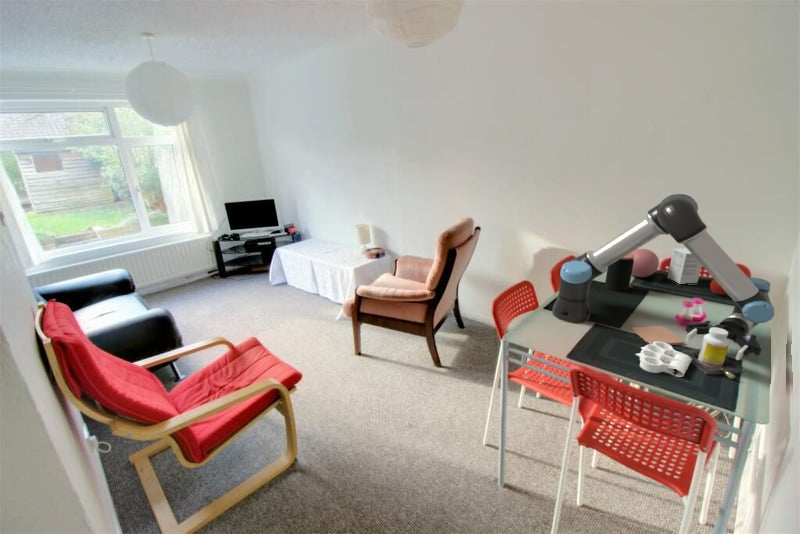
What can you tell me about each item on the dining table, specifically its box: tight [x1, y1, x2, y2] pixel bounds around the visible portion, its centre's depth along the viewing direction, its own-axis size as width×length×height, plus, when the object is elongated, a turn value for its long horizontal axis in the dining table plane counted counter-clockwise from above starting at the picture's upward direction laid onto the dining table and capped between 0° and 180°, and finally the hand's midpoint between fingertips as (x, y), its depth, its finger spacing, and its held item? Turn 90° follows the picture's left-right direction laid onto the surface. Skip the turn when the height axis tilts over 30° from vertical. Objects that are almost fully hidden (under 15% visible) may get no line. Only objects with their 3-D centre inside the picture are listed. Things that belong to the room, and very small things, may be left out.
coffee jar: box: [604, 253, 635, 292], centre depth 181 cm, size 11×11×18 cm
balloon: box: [631, 248, 660, 278], centre depth 196 cm, size 15×20×15 cm
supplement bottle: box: [697, 327, 730, 367], centre depth 121 cm, size 7×7×13 cm
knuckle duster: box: [635, 341, 692, 378], centre depth 125 cm, size 3×18×15 cm
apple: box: [709, 279, 728, 295], centre depth 170 cm, size 8×8×8 cm
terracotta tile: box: [631, 325, 685, 346], centre depth 140 cm, size 12×12×1 cm
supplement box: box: [667, 247, 703, 285], centre depth 185 cm, size 10×9×17 cm
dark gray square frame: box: [680, 348, 744, 380], centre depth 122 cm, size 11×14×2 cm
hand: (711, 346), depth 119 cm, fingers open, 13 cm apart
